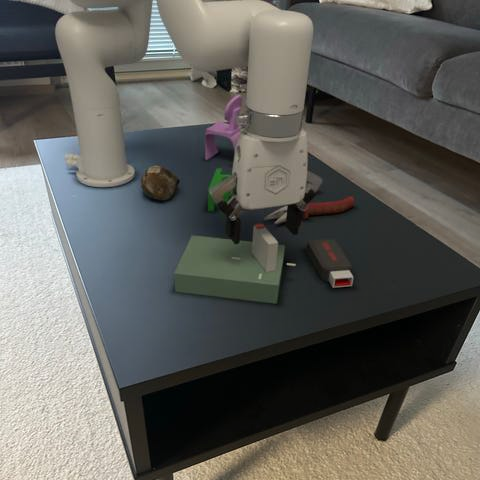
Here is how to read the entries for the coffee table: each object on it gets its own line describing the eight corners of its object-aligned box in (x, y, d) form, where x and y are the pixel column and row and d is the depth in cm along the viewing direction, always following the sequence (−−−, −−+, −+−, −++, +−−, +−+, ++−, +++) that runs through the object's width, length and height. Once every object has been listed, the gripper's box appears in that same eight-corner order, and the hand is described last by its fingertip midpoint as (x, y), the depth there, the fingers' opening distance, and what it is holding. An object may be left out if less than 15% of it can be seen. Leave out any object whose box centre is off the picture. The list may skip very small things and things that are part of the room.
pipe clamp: (226, 213, 100) (226, 191, 97) (207, 211, 100) (207, 189, 97) (233, 189, 109) (234, 169, 106) (216, 187, 109) (216, 167, 106)
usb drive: (333, 249, 90) (335, 235, 88) (357, 286, 81) (360, 272, 79) (305, 251, 89) (307, 237, 88) (326, 289, 80) (329, 274, 78)
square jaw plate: (275, 270, 77) (278, 240, 74) (266, 272, 77) (268, 242, 74) (260, 251, 82) (262, 222, 78) (251, 253, 81) (253, 224, 78)
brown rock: (153, 169, 109) (127, 193, 103) (163, 148, 104) (136, 172, 98) (181, 191, 110) (157, 216, 104) (192, 171, 105) (167, 196, 99)
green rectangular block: (175, 291, 78) (173, 272, 76) (192, 252, 87) (191, 234, 85) (290, 305, 76) (292, 285, 74) (295, 264, 86) (297, 245, 83)
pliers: (248, 216, 99) (248, 203, 97) (314, 189, 110) (315, 178, 108) (290, 238, 93) (292, 226, 91) (356, 208, 104) (358, 196, 102)
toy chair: (217, 150, 127) (217, 86, 118) (248, 156, 124) (251, 92, 115) (201, 160, 121) (200, 95, 112) (234, 167, 118) (236, 101, 109)
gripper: (221, 136, 61) (218, 256, 71) (344, 125, 66) (324, 239, 77) (202, 116, 66) (201, 231, 77) (317, 108, 71) (302, 216, 82)
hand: (263, 235), depth 77 cm, fingers open, 9 cm apart
